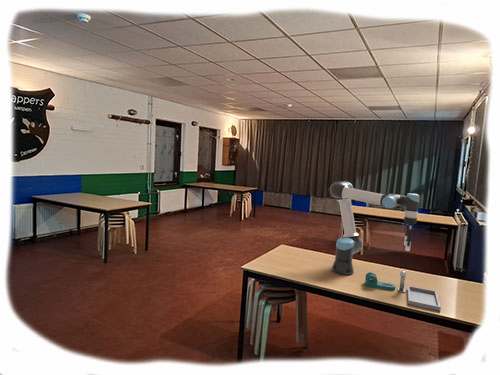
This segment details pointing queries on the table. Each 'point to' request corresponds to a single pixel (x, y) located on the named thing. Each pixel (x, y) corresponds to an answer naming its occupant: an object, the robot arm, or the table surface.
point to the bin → (423, 298)
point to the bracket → (372, 282)
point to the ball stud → (402, 282)
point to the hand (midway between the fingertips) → (406, 248)
